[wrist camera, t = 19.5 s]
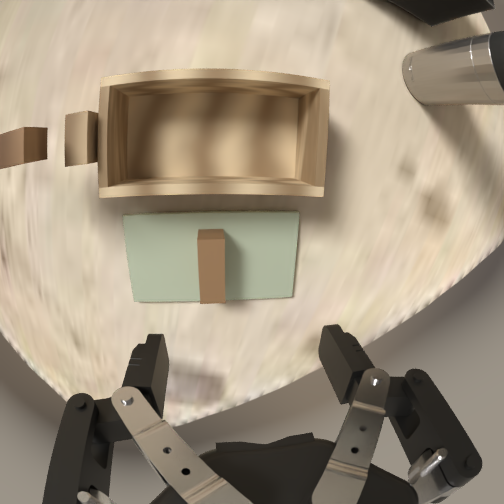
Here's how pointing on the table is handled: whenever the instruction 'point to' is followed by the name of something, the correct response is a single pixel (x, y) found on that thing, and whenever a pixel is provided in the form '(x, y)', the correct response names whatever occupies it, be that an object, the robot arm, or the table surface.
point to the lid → (211, 255)
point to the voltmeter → (443, 9)
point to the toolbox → (204, 133)
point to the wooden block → (23, 146)
